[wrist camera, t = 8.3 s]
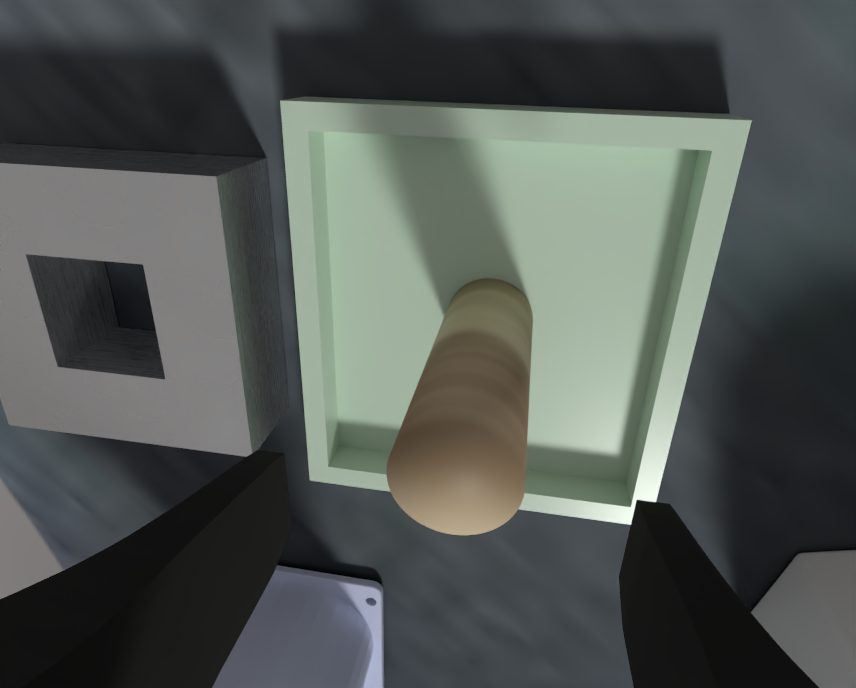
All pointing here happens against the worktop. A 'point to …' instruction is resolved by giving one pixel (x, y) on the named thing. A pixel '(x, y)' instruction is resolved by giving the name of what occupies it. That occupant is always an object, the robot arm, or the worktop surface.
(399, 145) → the tray
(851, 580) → the jar
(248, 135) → the worktop surface
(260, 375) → the socket block
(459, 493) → the pin
